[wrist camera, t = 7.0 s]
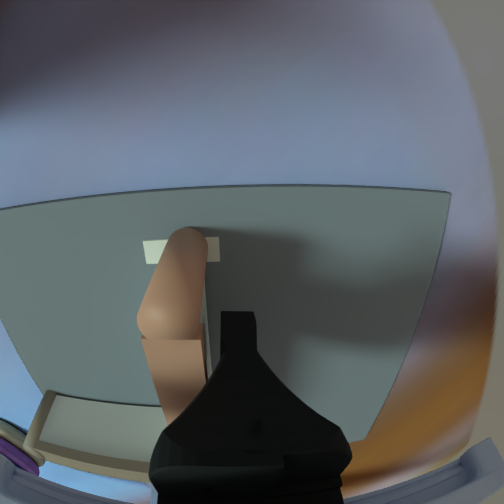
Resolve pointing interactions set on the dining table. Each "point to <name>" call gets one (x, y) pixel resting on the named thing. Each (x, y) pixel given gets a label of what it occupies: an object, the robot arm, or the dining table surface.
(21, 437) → the stacking toy
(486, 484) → the robot arm
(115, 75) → the dining table surface
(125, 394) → the mat
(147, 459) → the fence fixed
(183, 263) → the hinged fence panel
